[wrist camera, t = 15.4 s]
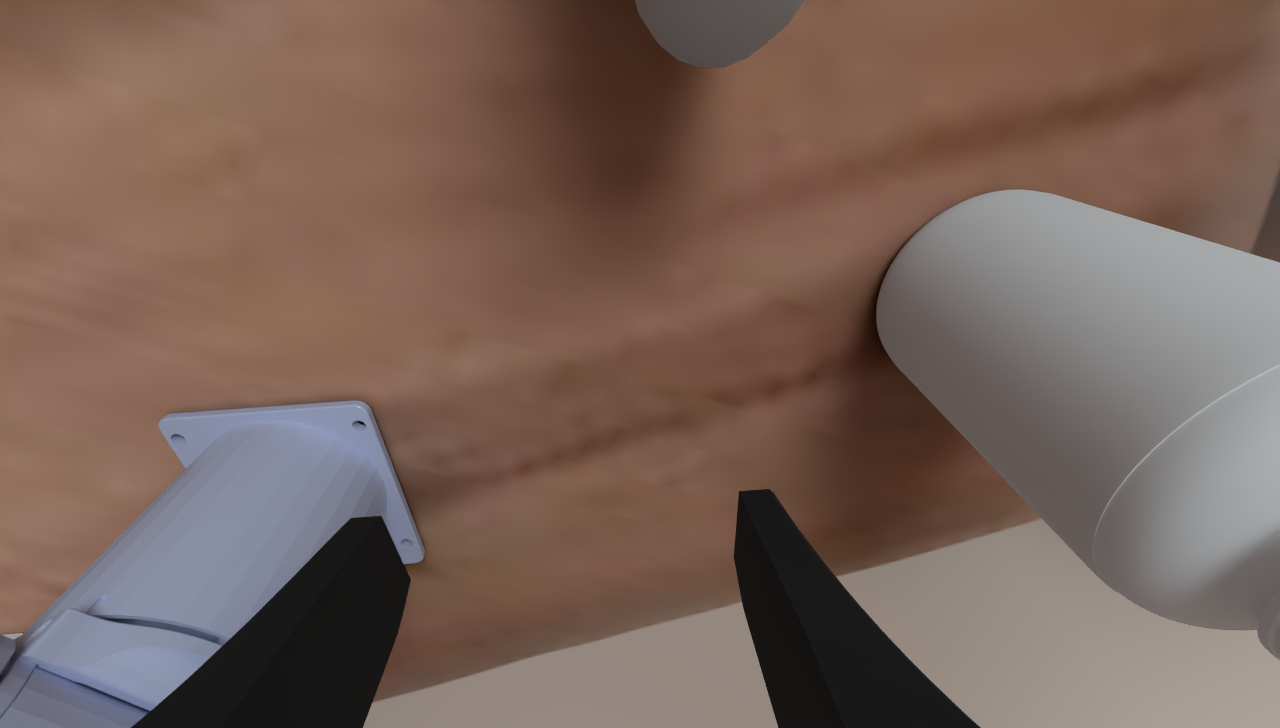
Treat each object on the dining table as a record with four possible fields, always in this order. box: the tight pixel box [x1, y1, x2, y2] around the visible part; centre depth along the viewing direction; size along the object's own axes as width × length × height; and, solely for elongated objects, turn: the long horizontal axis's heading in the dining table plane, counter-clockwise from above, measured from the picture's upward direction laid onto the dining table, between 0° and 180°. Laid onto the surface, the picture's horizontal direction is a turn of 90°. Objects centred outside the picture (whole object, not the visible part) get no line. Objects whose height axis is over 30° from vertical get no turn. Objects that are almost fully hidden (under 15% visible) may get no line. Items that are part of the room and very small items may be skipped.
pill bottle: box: [876, 190, 1280, 660], centre depth 14 cm, size 8×8×15 cm
